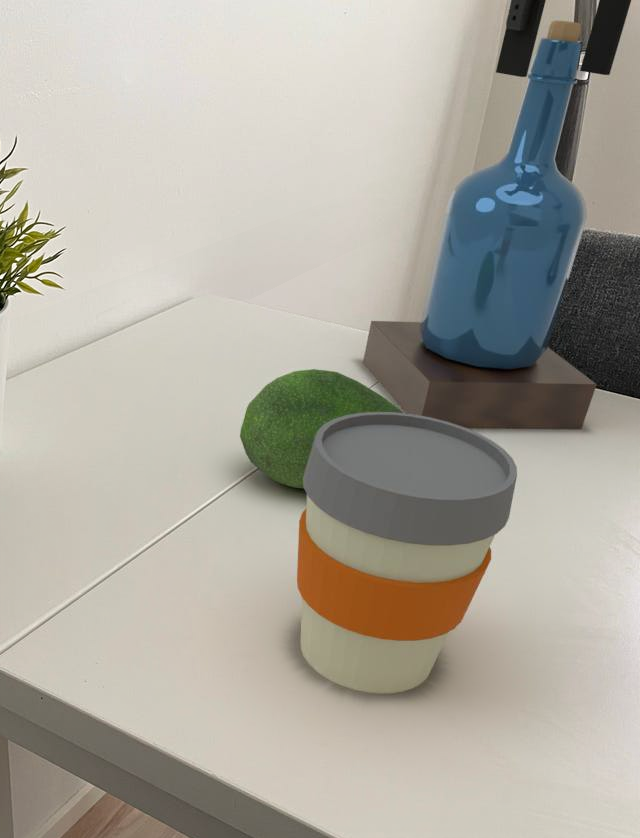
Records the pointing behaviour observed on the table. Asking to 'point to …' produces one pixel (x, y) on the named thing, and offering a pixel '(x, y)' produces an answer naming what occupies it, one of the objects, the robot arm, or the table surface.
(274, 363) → the table surface
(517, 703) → the table surface
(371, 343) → the walnut block
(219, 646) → the table surface
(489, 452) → the reusable coffee cup
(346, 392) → the fruit
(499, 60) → the robot arm
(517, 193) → the wine bottle
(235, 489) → the table surface
